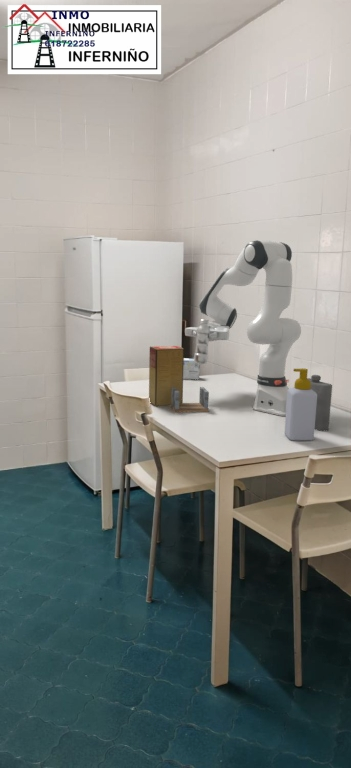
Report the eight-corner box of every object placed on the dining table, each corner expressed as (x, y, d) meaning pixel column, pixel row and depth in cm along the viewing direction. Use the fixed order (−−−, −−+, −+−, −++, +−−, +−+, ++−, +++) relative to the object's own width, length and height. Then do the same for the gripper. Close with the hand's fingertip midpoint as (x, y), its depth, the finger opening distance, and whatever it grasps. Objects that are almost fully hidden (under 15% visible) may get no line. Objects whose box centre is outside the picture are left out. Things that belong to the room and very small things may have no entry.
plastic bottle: (210, 365, 257) (215, 320, 255) (201, 365, 252) (205, 319, 250) (199, 363, 261) (203, 319, 259) (190, 363, 256) (194, 318, 254)
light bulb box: (199, 377, 314) (200, 358, 311) (198, 380, 307) (199, 360, 305) (180, 376, 315) (180, 357, 312) (178, 379, 308) (179, 359, 306)
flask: (294, 421, 228) (298, 372, 224) (306, 420, 230) (310, 371, 226) (319, 431, 215) (323, 379, 211) (331, 430, 217) (335, 378, 213)
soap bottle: (283, 434, 210) (288, 366, 205) (307, 434, 211) (312, 367, 206) (289, 441, 201) (294, 371, 196) (314, 441, 202) (320, 371, 197)
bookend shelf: (208, 411, 240) (209, 392, 238) (174, 412, 237) (175, 392, 235) (203, 406, 249) (203, 387, 248) (170, 406, 247) (170, 387, 245)
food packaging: (175, 399, 259) (176, 345, 254) (183, 404, 251) (185, 348, 246) (147, 401, 254) (148, 346, 249) (155, 406, 246) (156, 349, 241)
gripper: (190, 323, 269) (180, 326, 257) (232, 326, 263) (224, 329, 250) (189, 336, 271) (180, 340, 258) (231, 340, 264) (223, 344, 251)
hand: (202, 335), depth 254 cm, fingers closed on plastic bottle, 6 cm apart
